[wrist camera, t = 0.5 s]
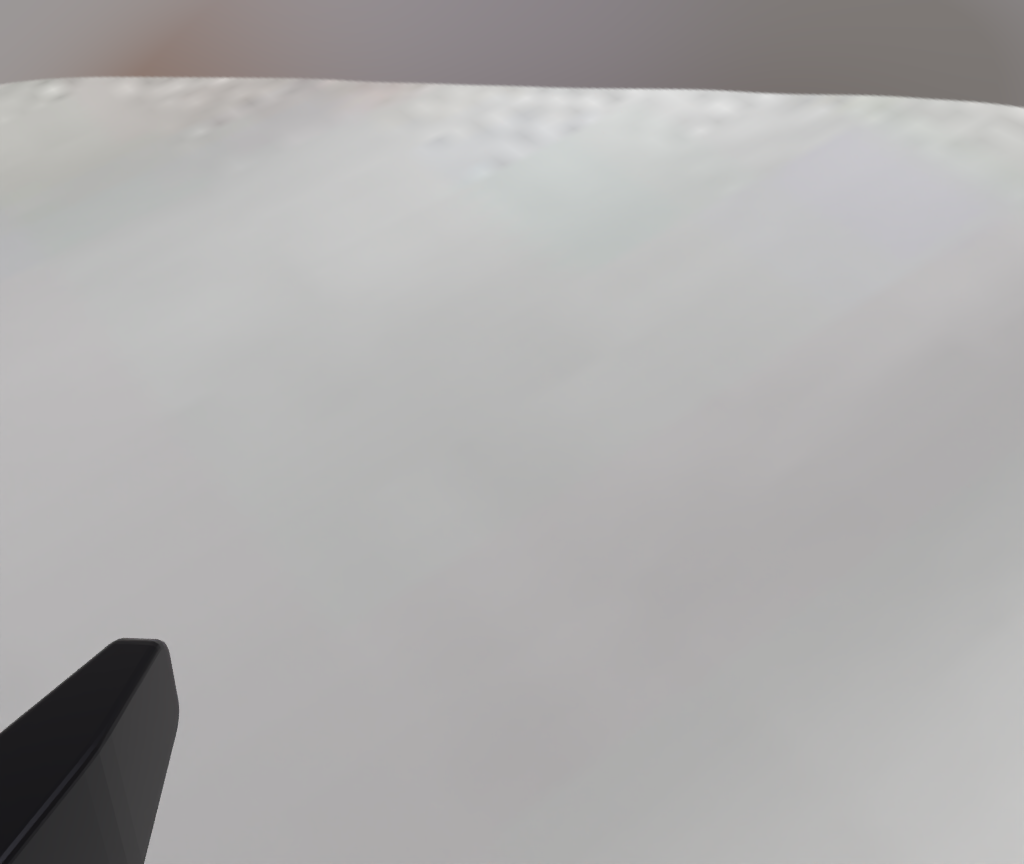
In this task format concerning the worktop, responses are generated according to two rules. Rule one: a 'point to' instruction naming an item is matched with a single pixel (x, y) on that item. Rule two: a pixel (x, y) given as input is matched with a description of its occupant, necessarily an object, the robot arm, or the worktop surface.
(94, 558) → the worktop surface
